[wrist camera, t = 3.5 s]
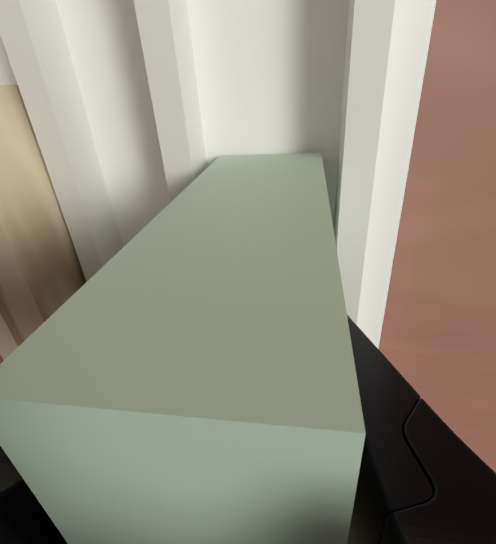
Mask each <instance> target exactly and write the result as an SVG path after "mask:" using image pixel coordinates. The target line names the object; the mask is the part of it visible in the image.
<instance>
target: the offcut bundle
mask: <svg viewBox="0 0 496 544" xmlns="http://www.w3.org/2000/svg"><path fill="white" fill-rule="evenodd" d="M85 283H86V279H85V276H84V273H83V270H82V267H81V264H80V262H79V259H78V256H77V253H76V250H75V247H74V244H73V242H72V239H71V236H70V233H69V230H68V227H67V224H66V222H65V219H64V216H63V213H62V210H61V207H60V204H59V201H58V199H57V196H56V193H55V190H54V187H53V184H52V181H51V179H50V176H49V173H48V170H47V167H46V164H45V161H44V159H43V156H42V153H41V150H40V147H39V144H38V141H37V138H36V136H35V133H34V130H33V127H32V124H31V121H30V118H29V116H28V113H27V110H26V107H25V104H24V101H23V98H22V96H21V93H20V90H19V87H18V85H0V355H1V357H2V358H3V360H5V359H6V358H7V357H8V356H9V355H10V354H11V353H12V352H13V351H14V350H15V349H17V348H18V347H19V346H20V345H21V344H22V343H23V342H24V341H25V340H26V339H27V338H28V337H29V336H30V335H31V334H32V333H33V332H34V331H36V330H37V329H38V328H39V327H40V326H41V325H42V324H43V323H44V322H45V321H46V320H47V319H48V318H49V317H50V316H51V315H52V314H53V313H55V312H56V311H57V310H58V309H59V308H60V307H61V306H62V305H63V304H64V303H65V302H66V301H67V300H68V299H69V298H70V297H71V296H72V295H74V294H75V293H76V292H77V291H78V290H79V289H80V288H81V287H82V286H83V285H84V284H85Z"/></svg>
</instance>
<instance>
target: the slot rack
mask: <svg viewBox="0 0 496 544" xmlns="http://www.w3.org/2000/svg"><path fill="white" fill-rule="evenodd" d="M435 5H436V0H0V85H18V87H19V90H20V93H21V96H22V98H23V101H24V104H25V107H26V110H27V113H28V116H29V118H30V121H31V124H32V127H33V130H34V133H35V136H36V138H37V141H38V144H39V147H40V150H41V153H42V156H43V159H44V161H45V164H46V167H47V170H48V173H49V176H50V179H51V181H52V184H53V187H54V190H55V193H56V196H57V199H58V201H59V204H60V207H61V210H62V213H63V216H64V219H65V222H66V224H67V227H68V230H69V233H70V236H71V239H72V242H73V244H74V247H75V250H76V253H77V256H78V259H79V262H80V264H81V267H82V270H83V273H84V276H85V279H86V282H87V281H88V280H89V279H90V278H91V277H93V276H94V275H95V274H96V273H97V272H98V271H99V270H100V269H101V268H102V267H103V266H104V265H105V264H106V263H107V262H108V261H109V260H110V259H112V258H113V257H114V256H115V255H116V254H117V253H118V252H119V251H120V250H121V249H122V248H123V247H124V246H125V245H126V244H127V243H128V242H129V241H131V240H132V239H133V238H134V237H135V236H136V235H137V234H138V233H139V232H140V231H141V230H142V229H143V228H144V227H145V226H146V225H147V224H148V223H150V222H151V221H152V220H153V219H154V218H155V217H156V216H157V215H158V214H159V213H160V212H161V211H162V210H163V209H164V208H165V207H166V206H167V205H169V204H170V203H171V202H172V201H173V200H174V199H175V198H176V197H177V196H178V195H179V194H180V193H181V192H182V191H183V190H184V189H185V188H186V187H188V186H189V185H190V184H191V183H192V182H193V181H194V180H195V179H196V178H197V177H198V176H199V175H200V174H201V173H202V172H203V171H204V170H205V169H207V168H208V167H209V166H210V165H211V164H212V163H213V162H214V161H215V160H216V159H217V158H218V157H219V156H225V155H253V154H281V153H309V152H321V154H322V160H323V166H324V173H325V179H326V185H327V192H328V198H329V204H330V211H331V217H332V223H333V230H334V236H335V242H336V249H337V255H338V261H339V268H340V274H341V280H342V287H343V293H344V299H345V305H346V312H347V315H348V316H349V317H350V318H351V319H352V320H353V321H354V323H355V324H356V325H357V326H358V327H359V328H360V329H361V330H362V332H363V333H364V334H365V335H366V336H367V337H368V338H369V339H370V341H371V342H372V343H373V344H374V345H375V346H376V347H377V348H379V342H380V336H381V330H382V324H383V318H384V312H385V306H386V300H387V294H388V288H389V282H390V276H391V270H392V264H393V258H394V252H395V246H396V240H397V234H398V228H399V222H400V216H401V210H402V203H403V197H404V191H405V185H406V179H407V173H408V167H409V161H410V155H411V149H412V143H413V137H414V131H415V125H416V119H417V113H418V107H419V101H420V95H421V89H422V83H423V77H424V71H425V65H426V59H427V53H428V47H429V41H430V35H431V29H432V23H433V17H434V11H435Z"/></svg>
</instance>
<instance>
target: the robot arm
mask: <svg viewBox="0 0 496 544" xmlns="http://www.w3.org/2000/svg"><path fill="white" fill-rule="evenodd" d="M347 318H348V324H349V331H350V337H351V343H352V350H353V356H354V362H355V369H356V375H357V381H358V388H359V394H360V400H361V407H362V413H363V419H364V426H365V432H366V435H365V441H364V447H363V453H362V458H361V464H360V470H359V476H358V482H357V488H356V494H355V500H354V506H353V512H352V517H351V523H350V529H349V535H348V541H347V544H496V473H495V472H494V471H493V470H492V469H491V468H490V467H489V466H488V465H486V464H485V463H484V462H483V461H482V460H481V459H480V458H479V457H478V456H477V455H476V454H475V453H474V452H473V451H472V450H471V449H470V448H469V447H468V446H467V445H466V444H465V443H464V442H463V441H462V440H461V439H460V438H459V437H458V436H457V435H456V434H455V433H454V432H453V431H452V430H451V429H450V428H449V427H448V426H447V425H446V424H445V423H444V422H443V421H442V419H441V418H440V417H439V416H438V415H437V414H436V413H435V412H434V411H433V410H432V409H431V408H430V406H429V405H428V404H427V403H426V402H425V401H424V400H423V399H420V395H419V394H418V393H417V392H416V391H415V390H414V389H413V388H412V386H411V385H410V384H409V383H408V382H407V381H406V380H405V379H404V377H403V376H402V375H401V374H400V373H399V372H398V371H397V370H396V369H395V367H394V366H393V365H392V364H391V363H390V362H389V361H388V360H387V358H386V357H385V356H384V355H383V354H382V353H381V352H380V351H379V349H378V348H377V347H376V346H375V345H374V344H373V343H372V342H371V341H370V339H369V338H368V337H367V336H366V335H365V334H364V333H363V332H362V330H361V329H360V328H359V327H358V326H357V325H356V324H355V323H354V321H353V320H352V319H351V318H350V317H349V316H348V315H347ZM0 544H68V543H67V542H66V540H65V539H64V537H63V536H62V534H61V533H60V532H59V530H58V529H57V527H56V526H55V524H54V523H53V521H52V520H51V518H50V517H49V516H48V514H47V513H46V511H45V510H44V508H43V507H42V505H41V504H40V503H39V501H38V500H37V498H36V497H35V495H34V494H33V492H32V491H31V489H30V488H29V487H28V485H27V484H26V482H25V481H24V479H23V478H22V476H21V475H20V473H19V472H18V471H17V469H16V468H15V466H14V465H13V463H12V462H11V460H10V459H9V457H8V456H7V455H6V453H5V452H4V450H3V449H2V447H1V446H0Z"/></svg>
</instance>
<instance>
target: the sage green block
mask: <svg viewBox="0 0 496 544" xmlns="http://www.w3.org/2000/svg"><path fill="white" fill-rule="evenodd" d="M365 435H366V432H365V426H364V419H363V413H362V407H361V400H360V394H359V388H358V381H357V375H356V369H355V362H354V356H353V350H352V343H351V337H350V331H349V324H348V318H347V312H346V305H345V299H344V293H343V287H342V280H341V274H340V268H339V261H338V255H337V249H336V242H335V236H334V230H333V223H332V217H331V211H330V204H329V198H328V192H327V185H326V179H325V173H324V166H323V160H322V154H321V152H309V153H281V154H253V155H225V156H219V157H218V158H217V159H216V160H215V161H214V162H213V163H212V164H211V165H210V166H209V167H208V168H207V169H205V170H204V171H203V172H202V173H201V174H200V175H199V176H198V177H197V178H196V179H195V180H194V181H193V182H192V183H191V184H190V185H189V186H188V187H186V188H185V189H184V190H183V191H182V192H181V193H180V194H179V195H178V196H177V197H176V198H175V199H174V200H173V201H172V202H171V203H170V204H169V205H167V206H166V207H165V208H164V209H163V210H162V211H161V212H160V213H159V214H158V215H157V216H156V217H155V218H154V219H153V220H152V221H151V222H150V223H148V224H147V225H146V226H145V227H144V228H143V229H142V230H141V231H140V232H139V233H138V234H137V235H136V236H135V237H134V238H133V239H132V240H131V241H129V242H128V243H127V244H126V245H125V246H124V247H123V248H122V249H121V250H120V251H119V252H118V253H117V254H116V255H115V256H114V257H113V258H112V259H110V260H109V261H108V262H107V263H106V264H105V265H104V266H103V267H102V268H101V269H100V270H99V271H98V272H97V273H96V274H95V275H94V276H93V277H91V278H90V279H89V280H88V281H87V282H86V283H85V284H84V285H83V286H82V287H81V288H80V289H79V290H78V291H77V292H76V293H75V294H74V295H72V296H71V297H70V298H69V299H68V300H67V301H66V302H65V303H64V304H63V305H62V306H61V307H60V308H59V309H58V310H57V311H56V312H55V313H53V314H52V315H51V316H50V317H49V318H48V319H47V320H46V321H45V322H44V323H43V324H42V325H41V326H40V327H39V328H38V329H37V330H36V331H34V332H33V333H32V334H31V335H30V336H29V337H28V338H27V339H26V340H25V341H24V342H23V343H22V344H21V345H20V346H19V347H18V348H17V349H15V350H14V351H13V352H12V353H11V354H10V355H9V356H8V357H7V358H6V359H5V360H4V361H3V362H2V363H1V364H0V446H1V447H2V449H3V450H4V452H5V453H6V455H7V456H8V457H9V459H10V460H11V462H12V463H13V465H14V466H15V468H16V469H17V471H18V472H19V473H20V475H21V476H22V478H23V479H24V481H25V482H26V484H27V485H28V487H29V488H30V489H31V491H32V492H33V494H34V495H35V497H36V498H37V500H38V501H39V503H40V504H41V505H42V507H43V508H44V510H45V511H46V513H47V514H48V516H49V517H50V518H51V520H52V521H53V523H54V524H55V526H56V527H57V529H58V530H59V532H60V533H61V534H62V536H63V537H64V539H65V540H66V542H67V543H68V544H347V541H348V535H349V529H350V523H351V517H352V512H353V506H354V500H355V494H356V488H357V482H358V476H359V470H360V464H361V458H362V453H363V447H364V441H365Z"/></svg>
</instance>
